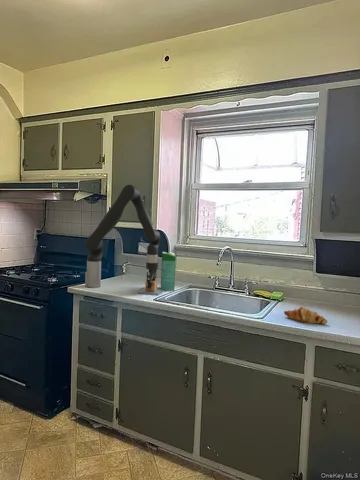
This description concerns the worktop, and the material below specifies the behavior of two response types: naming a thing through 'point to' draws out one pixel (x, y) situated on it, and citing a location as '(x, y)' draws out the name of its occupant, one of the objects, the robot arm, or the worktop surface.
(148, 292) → the slate mat
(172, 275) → the milk carton
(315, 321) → the croissant
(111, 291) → the worktop surface
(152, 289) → the wood block
